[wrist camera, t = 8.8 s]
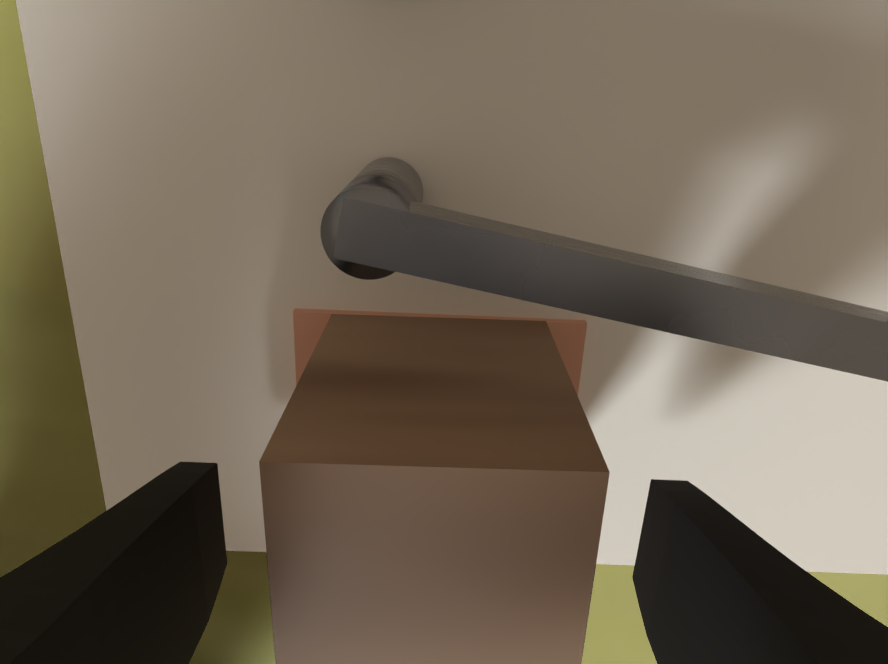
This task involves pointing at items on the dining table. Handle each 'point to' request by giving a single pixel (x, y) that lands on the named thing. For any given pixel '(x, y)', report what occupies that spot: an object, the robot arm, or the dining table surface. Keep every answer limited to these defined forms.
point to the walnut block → (432, 498)
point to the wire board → (484, 195)
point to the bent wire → (589, 276)
